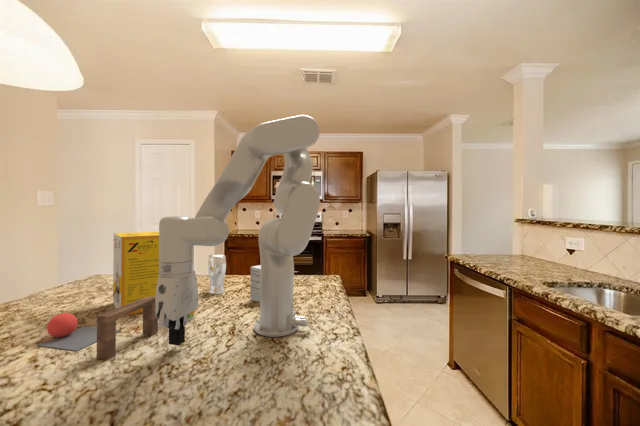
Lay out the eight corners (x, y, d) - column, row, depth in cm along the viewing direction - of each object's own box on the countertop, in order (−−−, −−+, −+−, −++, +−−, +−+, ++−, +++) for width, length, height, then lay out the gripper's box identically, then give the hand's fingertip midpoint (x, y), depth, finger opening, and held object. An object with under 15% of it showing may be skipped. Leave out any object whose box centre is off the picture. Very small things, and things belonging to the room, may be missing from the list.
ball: (76, 336, 79) (86, 319, 79) (52, 346, 73) (63, 328, 73) (62, 322, 80) (72, 305, 80) (37, 331, 74) (47, 312, 74)
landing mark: (120, 330, 81) (120, 330, 81) (76, 351, 69) (76, 350, 69) (85, 326, 83) (85, 325, 83) (36, 345, 71) (37, 344, 71)
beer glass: (208, 290, 121) (208, 254, 121) (225, 289, 123) (226, 254, 123) (207, 295, 114) (207, 257, 114) (225, 294, 116) (226, 256, 116)
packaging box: (113, 303, 103) (113, 233, 103) (163, 295, 114) (164, 231, 113) (119, 316, 91) (120, 236, 91) (175, 305, 102) (176, 234, 101)
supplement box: (264, 295, 116) (265, 263, 115) (277, 299, 111) (277, 266, 111) (249, 299, 110) (249, 266, 110) (262, 304, 105) (262, 269, 105)
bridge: (157, 332, 80) (158, 297, 80) (107, 359, 65) (107, 316, 65) (148, 331, 80) (148, 296, 80) (96, 358, 66) (96, 315, 66)
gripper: (168, 275, 62) (168, 361, 62) (208, 262, 77) (208, 332, 77) (138, 273, 63) (138, 357, 64) (183, 261, 78) (183, 329, 78)
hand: (176, 343), depth 70 cm, fingers closed
